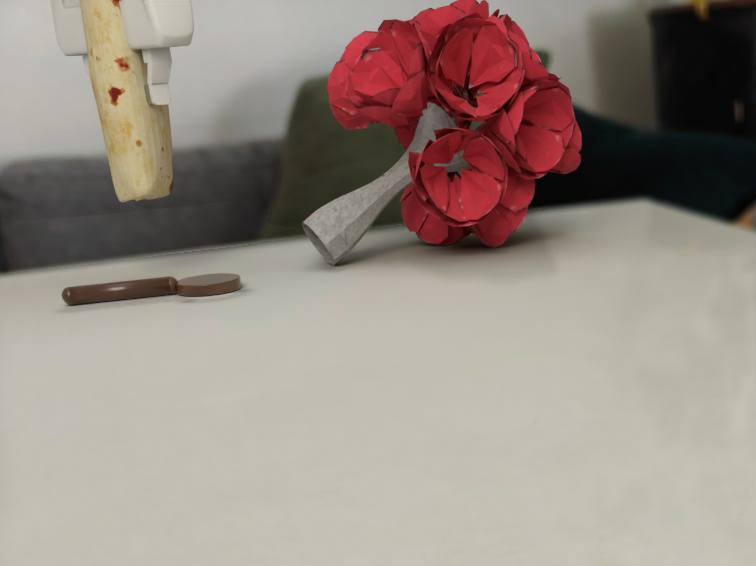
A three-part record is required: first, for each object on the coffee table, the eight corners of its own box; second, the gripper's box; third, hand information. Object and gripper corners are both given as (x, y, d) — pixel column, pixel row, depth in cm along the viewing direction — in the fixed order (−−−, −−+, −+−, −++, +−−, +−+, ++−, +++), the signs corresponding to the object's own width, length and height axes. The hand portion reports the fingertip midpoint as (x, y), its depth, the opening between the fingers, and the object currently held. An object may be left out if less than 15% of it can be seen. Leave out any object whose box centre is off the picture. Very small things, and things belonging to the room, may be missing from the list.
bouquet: (417, 347, 109) (646, 155, 112) (264, 127, 97) (524, -83, 100) (354, 324, 128) (552, 160, 130) (219, 137, 116) (439, -41, 118)
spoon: (61, 311, 101) (57, 293, 101) (66, 299, 107) (62, 282, 106) (243, 292, 104) (240, 274, 104) (239, 281, 110) (236, 264, 109)
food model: (177, 203, 108) (137, -39, 99) (106, 208, 108) (59, -35, 98) (187, 192, 117) (150, -31, 108) (121, 197, 116) (79, -27, 107)
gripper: (20, -52, 107) (55, 109, 113) (126, -78, 93) (158, 106, 100) (82, -51, 110) (112, 104, 117) (192, -76, 97) (219, 101, 103)
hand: (134, 105), depth 108 cm, fingers closed on food model, 8 cm apart
